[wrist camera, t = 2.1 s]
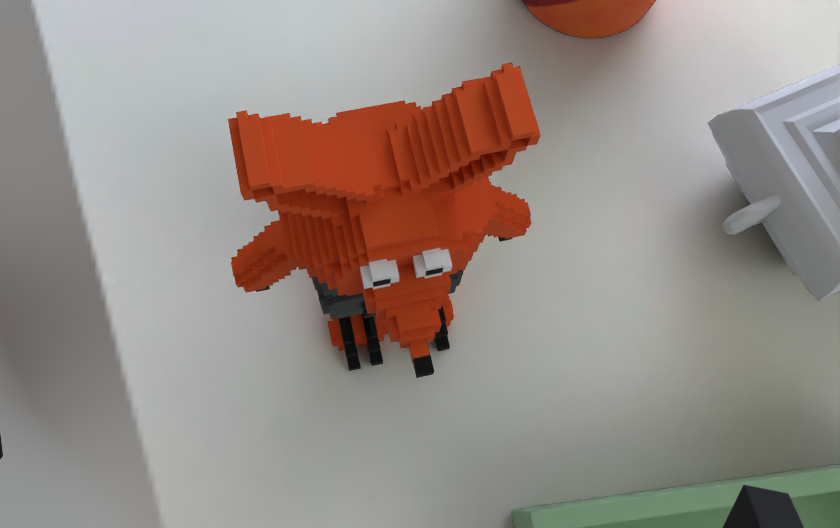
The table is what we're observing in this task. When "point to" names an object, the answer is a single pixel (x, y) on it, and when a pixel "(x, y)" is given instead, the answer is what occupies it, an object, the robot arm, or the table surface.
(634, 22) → the paper cup
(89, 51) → the table surface
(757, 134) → the stamp
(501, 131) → the toy animal
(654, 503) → the tray
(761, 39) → the table surface
